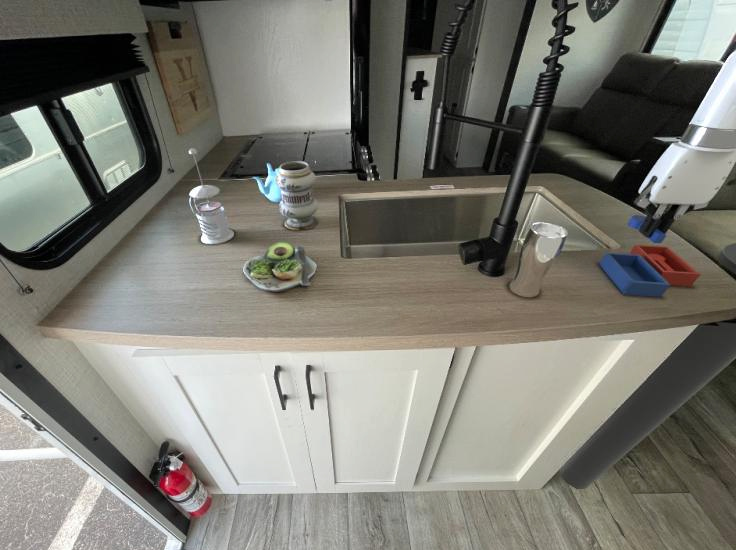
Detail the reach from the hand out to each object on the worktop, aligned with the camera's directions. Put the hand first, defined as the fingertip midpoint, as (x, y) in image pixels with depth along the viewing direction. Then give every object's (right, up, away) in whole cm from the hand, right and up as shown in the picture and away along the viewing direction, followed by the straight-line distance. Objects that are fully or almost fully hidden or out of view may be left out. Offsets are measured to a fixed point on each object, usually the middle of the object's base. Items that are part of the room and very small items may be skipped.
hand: (650, 234), depth 66 cm
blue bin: (+4, -9, +9) cm, 13 cm away
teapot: (-85, +25, +54) cm, 104 cm away
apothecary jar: (-76, +11, +37) cm, 85 cm away
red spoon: (+13, -6, +11) cm, 18 cm away
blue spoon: (0, +1, +1) cm, 2 cm away
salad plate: (-79, -6, +17) cm, 81 cm away
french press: (-102, +6, +33) cm, 107 cm away
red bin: (+13, -6, +12) cm, 18 cm away
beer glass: (-22, -11, +8) cm, 26 cm away
